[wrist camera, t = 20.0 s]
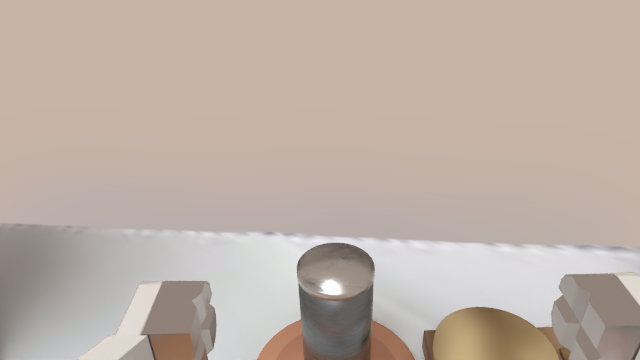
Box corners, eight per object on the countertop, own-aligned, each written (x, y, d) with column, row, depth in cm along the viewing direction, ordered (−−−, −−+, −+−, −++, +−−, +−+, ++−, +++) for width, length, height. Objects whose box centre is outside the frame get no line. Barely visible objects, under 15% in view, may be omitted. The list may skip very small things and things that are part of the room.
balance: (443, 438, 34) (457, 356, 30) (420, 338, 42) (428, 261, 38) (829, 428, 34) (898, 344, 30) (733, 329, 42) (777, 252, 37)
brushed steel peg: (303, 407, 35) (295, 295, 29) (305, 351, 39) (297, 243, 34) (373, 405, 35) (378, 292, 29) (367, 349, 39) (370, 241, 34)
